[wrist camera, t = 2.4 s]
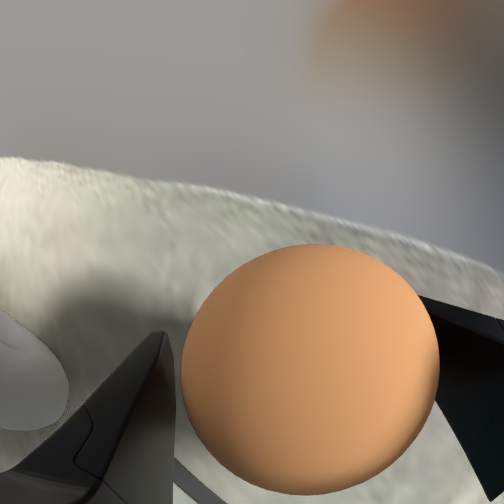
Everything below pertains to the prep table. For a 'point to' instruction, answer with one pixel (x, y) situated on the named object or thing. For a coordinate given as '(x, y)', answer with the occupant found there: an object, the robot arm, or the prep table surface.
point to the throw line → (193, 485)
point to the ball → (310, 369)
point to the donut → (29, 380)
